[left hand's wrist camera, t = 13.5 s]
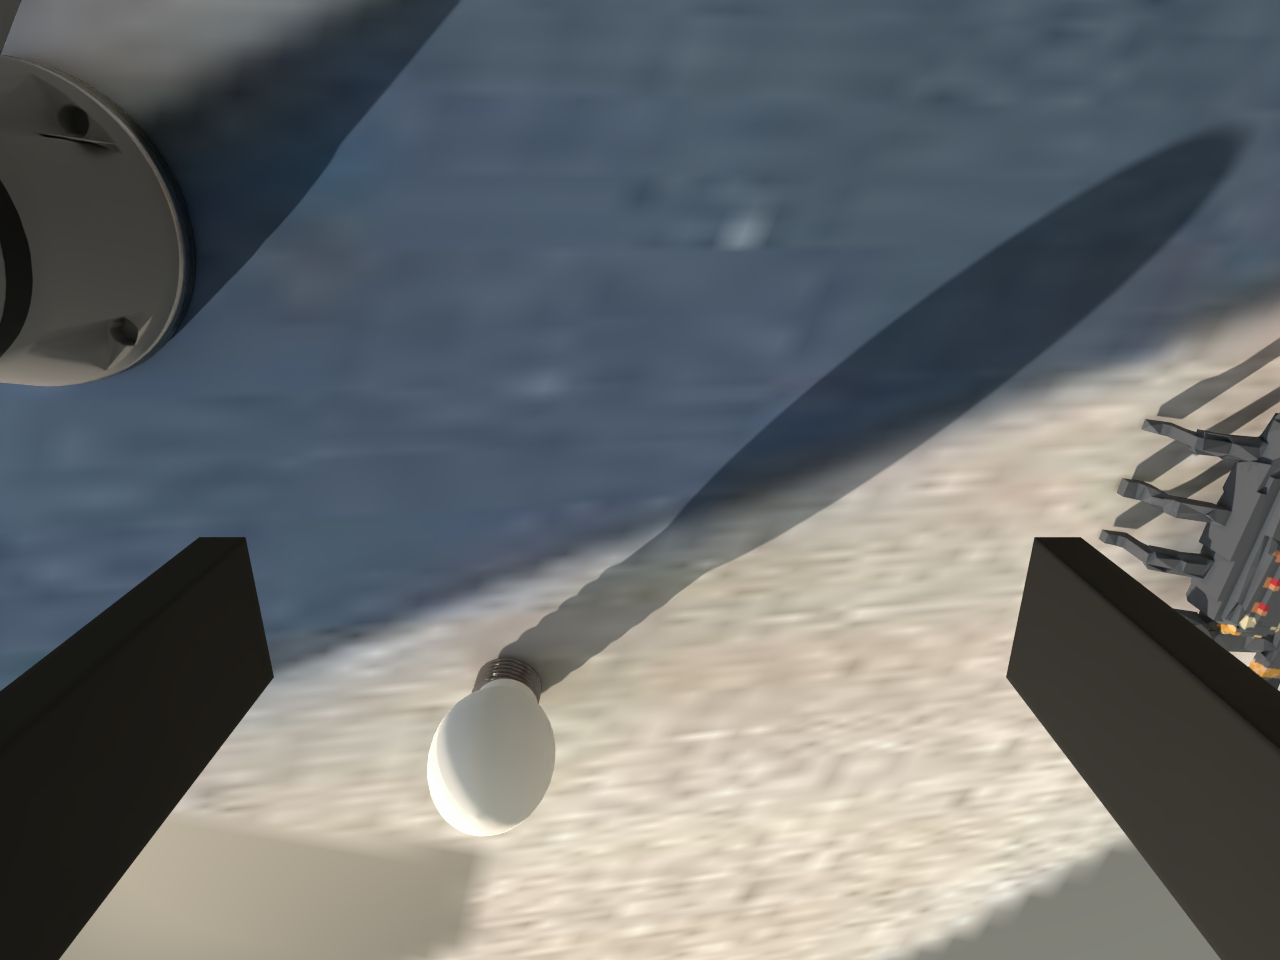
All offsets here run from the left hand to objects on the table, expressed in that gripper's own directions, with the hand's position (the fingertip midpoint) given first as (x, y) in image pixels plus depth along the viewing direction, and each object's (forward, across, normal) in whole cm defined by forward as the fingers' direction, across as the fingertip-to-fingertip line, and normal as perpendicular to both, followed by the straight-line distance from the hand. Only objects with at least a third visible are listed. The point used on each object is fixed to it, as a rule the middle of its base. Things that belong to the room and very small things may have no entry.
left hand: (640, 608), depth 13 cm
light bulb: (+29, -8, -22) cm, 37 cm away
